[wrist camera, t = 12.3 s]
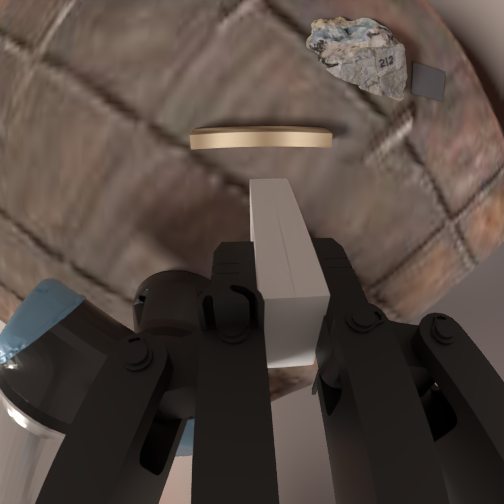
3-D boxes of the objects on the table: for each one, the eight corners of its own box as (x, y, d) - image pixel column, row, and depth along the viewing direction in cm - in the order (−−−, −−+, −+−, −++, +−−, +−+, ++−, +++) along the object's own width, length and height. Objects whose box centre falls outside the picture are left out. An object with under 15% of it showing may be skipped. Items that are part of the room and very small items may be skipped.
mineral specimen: (343, 35, 26) (314, 98, 29) (317, -7, 20) (280, 61, 22) (419, 53, 22) (394, 124, 24) (409, 5, 15) (380, 83, 18)
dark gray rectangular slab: (410, 93, 26) (411, 93, 26) (412, 61, 24) (413, 62, 24) (441, 101, 26) (442, 101, 26) (444, 71, 24) (445, 72, 24)
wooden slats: (195, 142, 30) (191, 149, 27) (188, -28, 18) (183, -36, 15) (323, 140, 30) (331, 147, 27) (326, -26, 18) (334, -33, 16)
